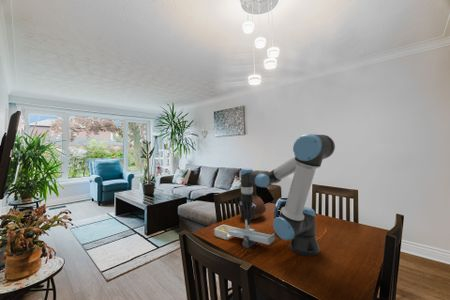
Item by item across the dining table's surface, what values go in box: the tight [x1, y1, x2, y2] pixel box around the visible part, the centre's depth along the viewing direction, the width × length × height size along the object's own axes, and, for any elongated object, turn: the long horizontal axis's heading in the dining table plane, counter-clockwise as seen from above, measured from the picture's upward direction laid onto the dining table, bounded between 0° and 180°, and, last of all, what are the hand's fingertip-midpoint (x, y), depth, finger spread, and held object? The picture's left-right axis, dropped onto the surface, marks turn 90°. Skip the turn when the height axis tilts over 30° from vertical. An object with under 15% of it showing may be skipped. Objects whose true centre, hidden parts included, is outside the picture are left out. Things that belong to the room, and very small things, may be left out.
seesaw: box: [228, 227, 276, 245], centre depth 122 cm, size 28×13×3 cm, turn 50°
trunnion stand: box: [242, 230, 258, 249], centre depth 120 cm, size 4×11×6 cm, turn 139°
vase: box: [251, 185, 267, 220], centre depth 162 cm, size 25×20×30 cm
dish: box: [213, 224, 235, 241], centre depth 133 cm, size 11×10×4 cm
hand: (247, 229), depth 129 cm, fingers closed
